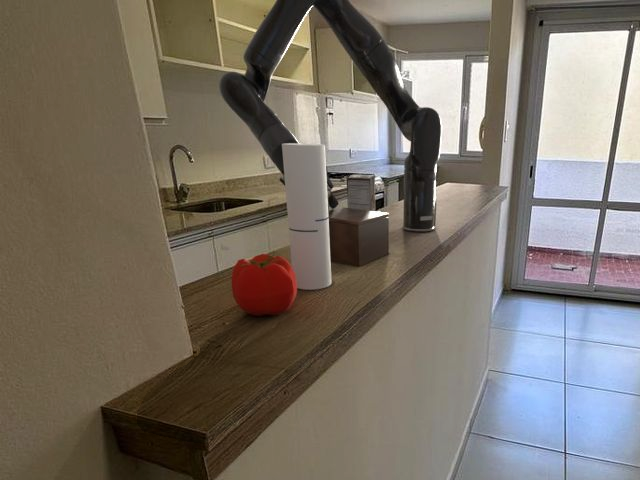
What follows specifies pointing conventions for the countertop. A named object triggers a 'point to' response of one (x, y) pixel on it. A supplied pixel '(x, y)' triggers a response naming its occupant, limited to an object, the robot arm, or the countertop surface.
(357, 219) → the lid
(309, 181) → the cylindrical container
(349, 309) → the countertop surface
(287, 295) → the tomato
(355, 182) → the coffee box
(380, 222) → the chest
